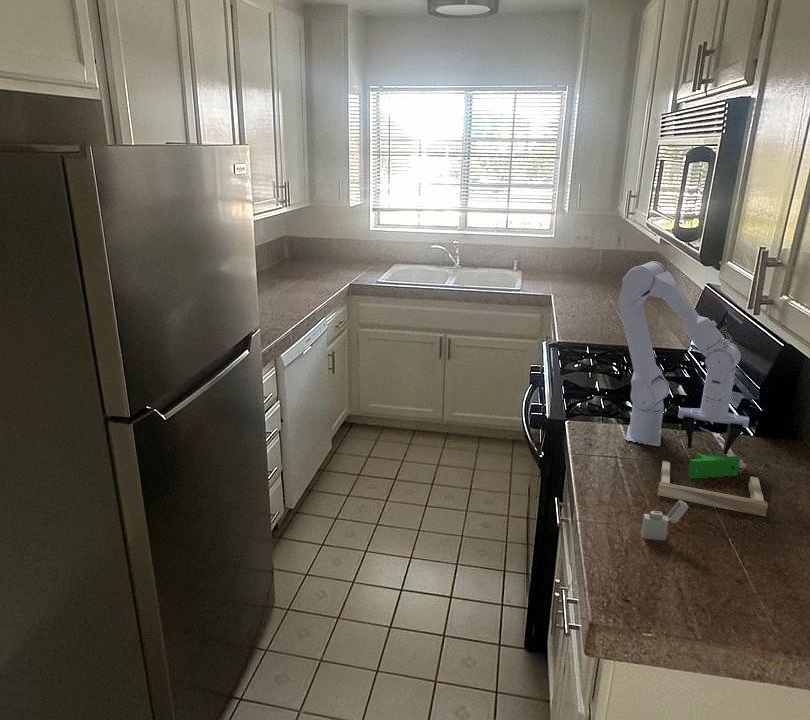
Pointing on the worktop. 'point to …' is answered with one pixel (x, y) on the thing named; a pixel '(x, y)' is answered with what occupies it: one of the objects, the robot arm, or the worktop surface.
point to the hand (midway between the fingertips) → (707, 449)
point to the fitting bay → (714, 495)
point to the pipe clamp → (713, 466)
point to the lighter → (661, 521)
